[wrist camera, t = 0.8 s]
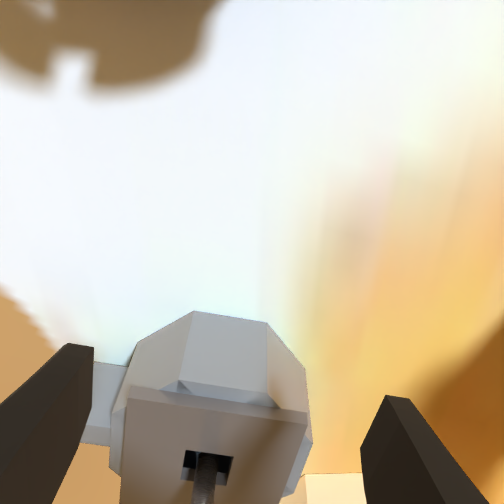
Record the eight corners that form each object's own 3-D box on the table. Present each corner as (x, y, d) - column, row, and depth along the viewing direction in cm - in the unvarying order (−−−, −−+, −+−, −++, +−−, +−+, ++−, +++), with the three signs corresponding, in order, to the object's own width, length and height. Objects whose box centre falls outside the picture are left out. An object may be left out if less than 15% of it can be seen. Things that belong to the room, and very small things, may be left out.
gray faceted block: (317, 331, 22) (330, 414, 17) (279, 445, 26) (282, 536, 22) (100, 295, 21) (57, 373, 17) (96, 418, 25) (61, 507, 21)
